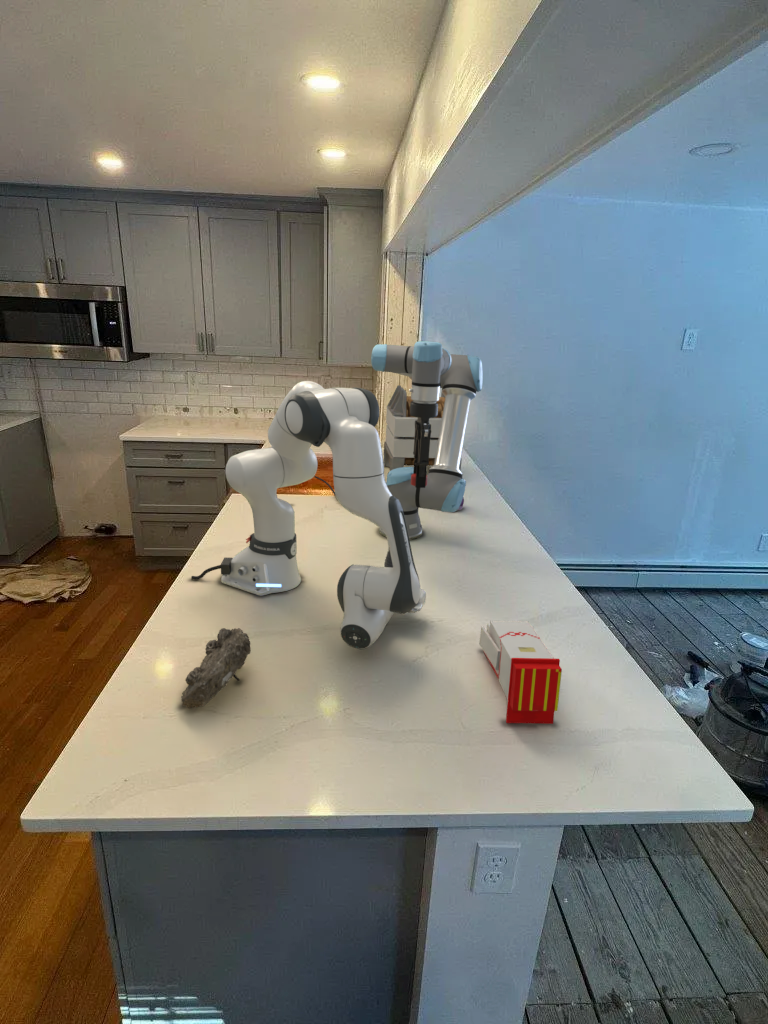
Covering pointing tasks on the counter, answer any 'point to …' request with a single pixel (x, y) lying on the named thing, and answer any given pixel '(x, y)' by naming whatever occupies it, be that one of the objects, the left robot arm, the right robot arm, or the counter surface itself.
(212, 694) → the fossil
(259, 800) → the counter surface
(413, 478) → the cap
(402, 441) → the white wooden crate
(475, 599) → the counter surface
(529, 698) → the toy
